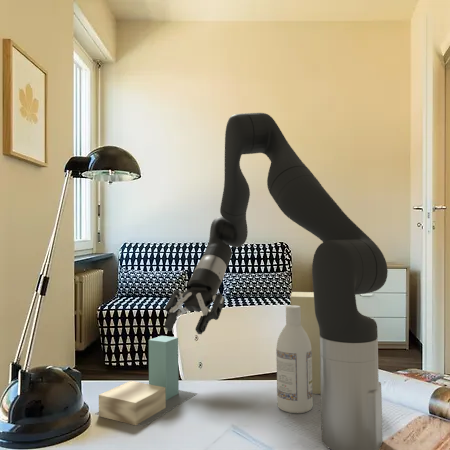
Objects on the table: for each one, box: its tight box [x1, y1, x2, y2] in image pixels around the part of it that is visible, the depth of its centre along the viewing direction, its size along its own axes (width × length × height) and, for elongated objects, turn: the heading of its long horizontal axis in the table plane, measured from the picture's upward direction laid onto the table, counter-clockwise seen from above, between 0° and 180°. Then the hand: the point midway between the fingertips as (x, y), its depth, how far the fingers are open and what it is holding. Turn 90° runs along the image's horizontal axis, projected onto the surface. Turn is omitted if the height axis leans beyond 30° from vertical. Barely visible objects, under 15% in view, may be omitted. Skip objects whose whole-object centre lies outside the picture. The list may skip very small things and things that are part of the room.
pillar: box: [148, 335, 180, 400], centre depth 92 cm, size 4×4×12 cm
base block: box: [98, 380, 166, 426], centre depth 83 cm, size 9×9×4 cm
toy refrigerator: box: [289, 291, 321, 395], centre depth 96 cm, size 8×7×21 cm
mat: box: [94, 389, 198, 427], centre depth 87 cm, size 12×18×1 cm, turn 152°
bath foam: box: [275, 305, 314, 414], centre depth 85 cm, size 7×7×20 cm
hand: (182, 330), depth 98 cm, fingers open, 8 cm apart
